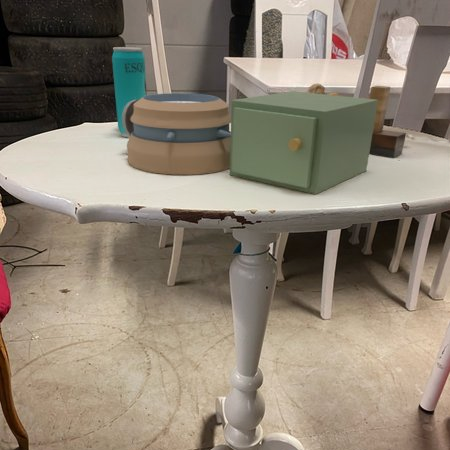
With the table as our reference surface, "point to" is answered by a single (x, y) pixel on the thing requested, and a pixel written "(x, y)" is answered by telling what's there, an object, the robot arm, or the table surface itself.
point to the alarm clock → (178, 133)
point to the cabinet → (301, 139)
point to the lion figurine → (319, 90)
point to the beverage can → (128, 79)
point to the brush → (382, 139)
